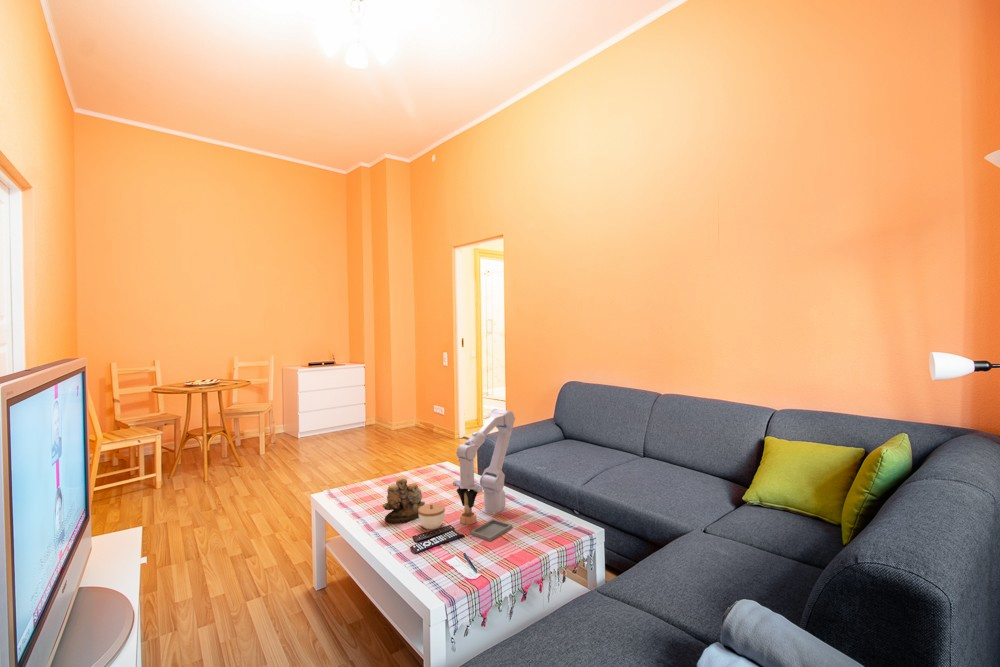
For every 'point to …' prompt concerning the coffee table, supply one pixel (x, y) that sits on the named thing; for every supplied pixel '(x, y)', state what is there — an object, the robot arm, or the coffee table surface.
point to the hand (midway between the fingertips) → (468, 506)
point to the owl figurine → (403, 502)
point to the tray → (491, 529)
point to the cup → (467, 518)
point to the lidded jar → (431, 515)
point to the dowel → (466, 507)
